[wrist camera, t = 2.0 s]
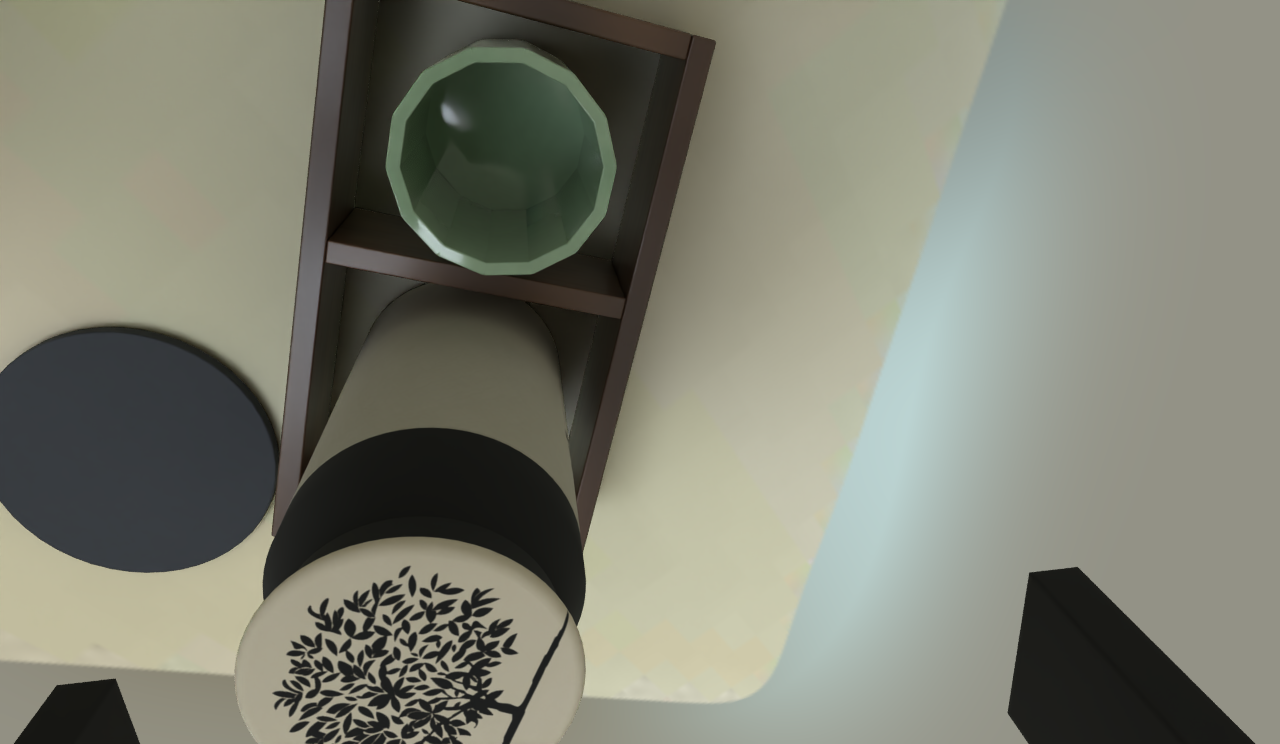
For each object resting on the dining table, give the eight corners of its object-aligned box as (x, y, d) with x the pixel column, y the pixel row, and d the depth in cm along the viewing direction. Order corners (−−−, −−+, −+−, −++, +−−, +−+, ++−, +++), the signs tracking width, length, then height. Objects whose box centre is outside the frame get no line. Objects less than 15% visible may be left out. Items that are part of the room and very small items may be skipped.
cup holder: (302, 469, 35) (270, 536, 31) (360, -53, 28) (331, -65, 24) (570, 506, 38) (577, 573, 33) (687, 36, 31) (716, 40, 26)
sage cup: (405, 198, 32) (373, 254, 24) (432, 16, 29) (404, 17, 22) (571, 233, 33) (587, 295, 26) (608, 62, 31) (638, 77, 23)
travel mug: (329, 402, 34) (158, 758, 18) (419, 239, 32) (320, 474, 16) (500, 482, 37) (487, 857, 20) (594, 336, 35) (664, 624, 18)
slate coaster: (-10, 547, 35) (-19, 556, 34) (-21, 301, 31) (-31, 307, 30) (268, 578, 37) (264, 587, 37) (291, 353, 33) (287, 359, 33)
